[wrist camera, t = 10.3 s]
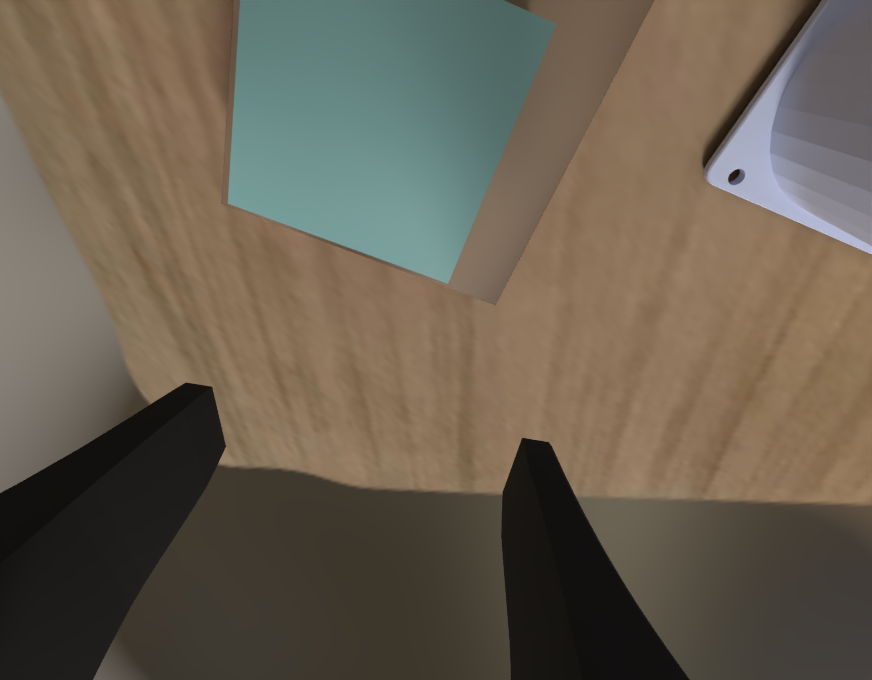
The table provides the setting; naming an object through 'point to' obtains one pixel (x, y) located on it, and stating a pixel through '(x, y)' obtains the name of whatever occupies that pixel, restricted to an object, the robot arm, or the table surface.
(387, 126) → the teal cube
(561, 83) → the walnut base block
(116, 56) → the table surface
